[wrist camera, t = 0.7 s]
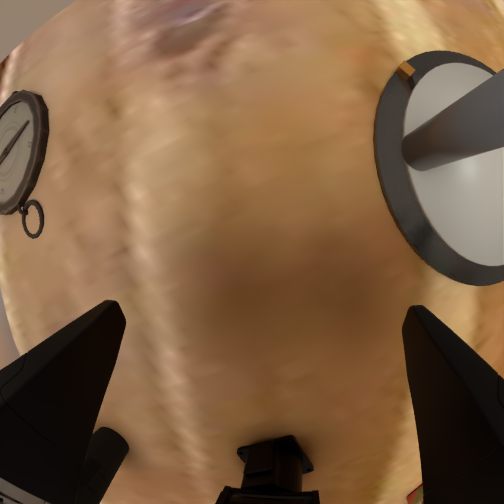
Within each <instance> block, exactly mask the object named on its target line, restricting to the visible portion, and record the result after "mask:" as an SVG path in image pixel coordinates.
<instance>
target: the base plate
mask: <svg viewBox="0 0 504 504" xmlns="http://www.w3.org/2000/svg"><path fill="white" fill-rule="evenodd" d="M448 63H464V64H469V65H472V66H475V67H478V68H481V69H483V70H485V71H487V72H488V73H490V74H492V75H495V74H496V72H494V71H493V70H492V69H491V68H489V67H487V66H486V65H484V64H483V63H481V62H479V61H477V60H475V59H473V58H471V57H469V56H466V55H463V54H460V53H456V52H451V51H430V52H425V53H422V54H419V55H416V56H414V57H412V58H411V59H409V60H407V61H403V62H402V63H401V64H400V66H399V67H398V68H397V70H396V71H395V73H394V74H393V76H392V77H391V78H390V80H389V81H388V83H387V84H386V86H385V88H384V90H383V92H382V94H381V97H380V100H379V103H378V106H377V110H376V116H375V122H374V139H373V140H374V154H375V162H376V167H377V173H378V178H379V181H380V185H381V188H382V192H383V195H384V197H385V200H386V203H387V205H388V208H389V210H390V212H391V214H392V216H393V218H394V220H395V222H396V225H397V226H398V228H399V230H400V231H401V233H402V234H403V236H404V238H405V239H406V241H407V242H408V243H409V244H410V246H411V247H412V248H413V249H414V251H415V252H416V253H417V254H418V255H419V256H420V257H421V258H422V259H423V260H424V261H425V262H426V263H427V264H428V265H429V266H431V267H432V268H434V269H435V270H436V271H438V272H439V273H441V274H443V275H445V276H447V277H448V278H450V279H453V280H455V281H458V282H461V283H464V284H467V285H474V286H487V285H492V284H496V283H499V282H502V281H504V265H500V266H487V265H482V264H478V263H475V262H472V261H469V260H467V259H464V258H463V257H461V256H459V255H458V254H456V253H455V252H453V251H452V250H451V249H450V248H449V247H447V246H446V245H445V244H444V243H443V242H442V241H441V240H440V238H439V237H438V236H437V235H436V234H435V232H434V231H433V230H432V228H431V227H430V226H429V224H428V222H427V221H426V219H425V217H424V216H423V214H422V212H421V210H420V208H419V206H418V204H417V202H416V200H415V197H414V194H413V192H412V189H411V186H410V183H409V180H408V176H407V172H406V169H405V163H404V158H403V155H402V151H401V144H402V122H403V115H404V110H405V107H406V103H407V100H408V98H409V96H410V94H411V91H412V90H413V89H414V87H415V86H416V84H417V83H418V82H419V81H420V80H421V79H422V78H423V77H424V76H425V75H426V74H427V73H428V72H429V71H431V70H432V69H434V68H435V67H438V66H440V65H443V64H448Z"/></svg>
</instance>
